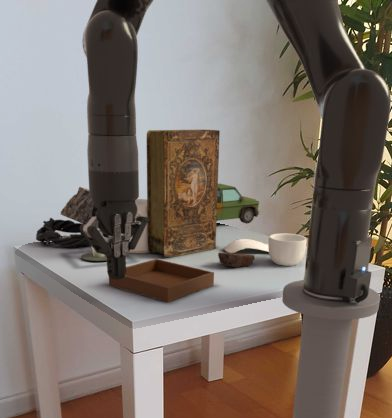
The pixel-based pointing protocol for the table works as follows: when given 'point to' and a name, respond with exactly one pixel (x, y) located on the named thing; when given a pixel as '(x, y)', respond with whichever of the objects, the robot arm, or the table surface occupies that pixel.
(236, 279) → the table surface
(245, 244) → the computer mouse
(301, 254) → the teacup
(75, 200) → the stone block
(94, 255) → the olive disc with post
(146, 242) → the mug
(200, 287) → the tray
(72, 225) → the cable
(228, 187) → the toy truck
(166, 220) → the book
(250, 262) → the stone
